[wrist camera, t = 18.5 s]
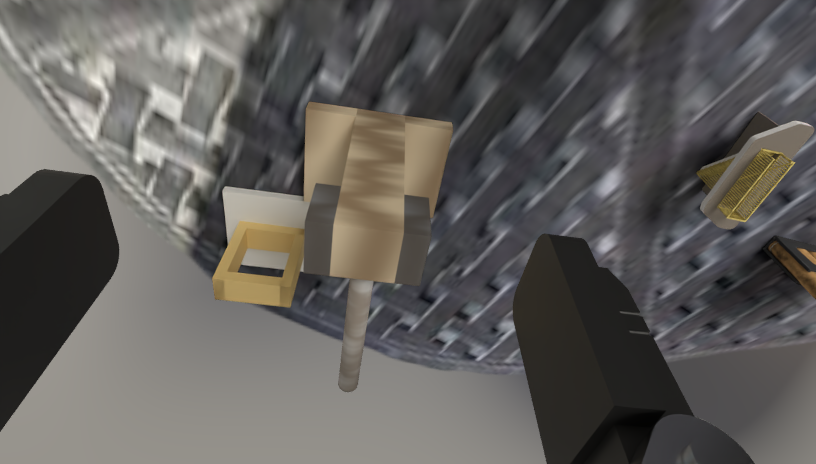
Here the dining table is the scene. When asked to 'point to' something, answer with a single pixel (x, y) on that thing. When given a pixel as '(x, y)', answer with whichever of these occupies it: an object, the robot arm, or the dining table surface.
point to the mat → (263, 219)
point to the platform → (750, 169)
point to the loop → (259, 286)
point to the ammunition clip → (795, 260)
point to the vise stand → (369, 205)
